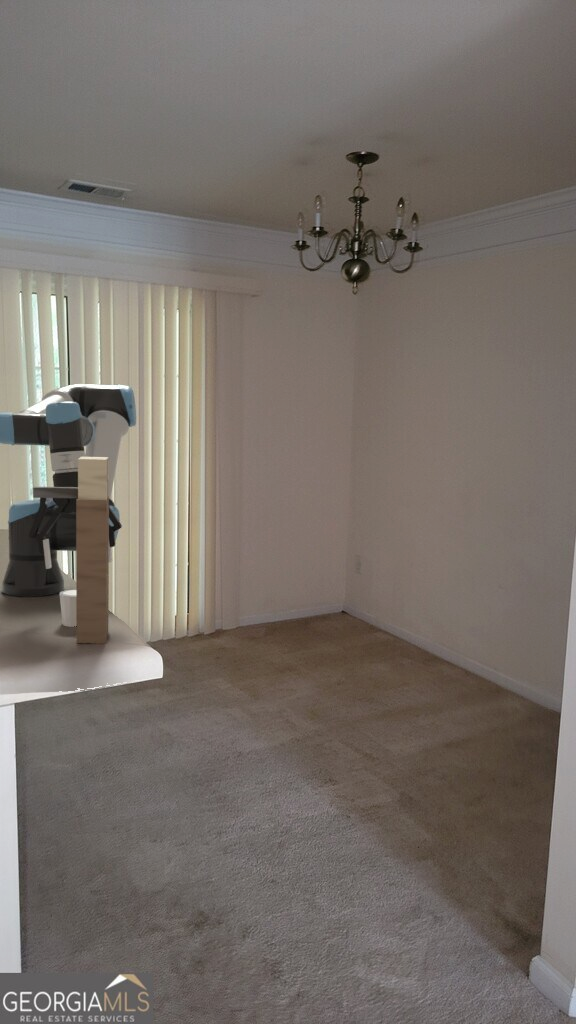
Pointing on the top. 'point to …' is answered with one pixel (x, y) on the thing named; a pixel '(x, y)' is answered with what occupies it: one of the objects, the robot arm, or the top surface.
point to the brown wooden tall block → (92, 570)
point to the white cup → (68, 607)
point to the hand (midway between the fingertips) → (79, 565)
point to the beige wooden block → (82, 482)
